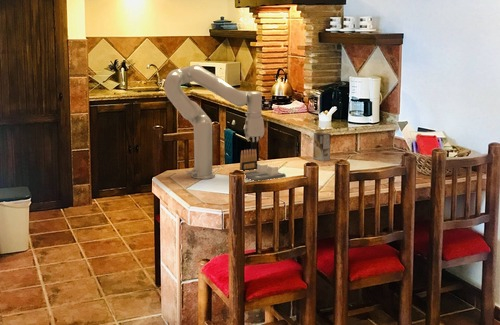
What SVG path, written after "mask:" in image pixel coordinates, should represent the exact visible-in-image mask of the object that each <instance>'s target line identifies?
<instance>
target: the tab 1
mask: <svg viewBox="0 0 500 325" xmlns="http://www.w3.org/2000/svg"><path fill="white" fill-rule="evenodd" d="M268 166H269V165H268V164H267V163H257V169H256V171H257V172H258V173H265V172H268Z"/></svg>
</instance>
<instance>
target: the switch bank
mask: <svg viewBox="0 0 500 325" xmlns="http://www.w3.org/2000/svg"><path fill="white" fill-rule="evenodd" d="M244 172H245V175H246V178H248V179H247V180H249V179H251V180H250V181H252V180H254V181H256V182H259V181H258V180H262V181H267V180H268V179H269V180H275V179H281V178H286V177H287V176H286V173H282V172H279V171H278V174H276V175H268V172H265V173H258V172H257V170H250V171H244ZM246 178H245V179H246ZM274 178H275V179H274ZM254 181H253V182H254Z"/></svg>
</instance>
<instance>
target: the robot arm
mask: <svg viewBox="0 0 500 325" xmlns="http://www.w3.org/2000/svg"><path fill="white" fill-rule="evenodd" d="M192 82H194V83H195V84H197V85H199V86H201V87H203V88H205V89H206V90H208V91H210V92H211V93H213V94H214V95H215V96H219V97H220V98H221V99H224V100H225V101H227V102H228V103H230V104H232V105H234V106H236V107H240V108H241V107H244V106H247V108H246V110H247V111H246V113H245V116H246V118H245V122H244V123H245V124H244V137H245V139H247V140H249V142H250V150H252V149H253V150H255V149H256V150H257V149H258V142H259V140H260V139H261V138H264V135H265V124H264V117H263V116H262V103H263V101H262V97H263V96H262V92H260V91H258V90H257V91H256V90H253V91H252V90H251V91H246V90H238V89H237V88H235V87H233V86H231V85H230V84H229V83H227V82H226V81H225V80H224V79H223V78H222V77H220V76H218V75H216V74H215V73H213V72H210V71H209V70H207V69H205V68H204V67H203V66H202V65H200V64H193V65H188V66H184V67H180V68H177V69H172V70H171V71H169V73H168V74H167V76H166V78H165V80H164V86H163V87H164V88H163V89H164V94H165V95H166V97H167V99H168V101H170V103H171V104H172V105H173V106H174V108H175V109H176V111H178V113H179V114H180V115H181V116H182V118H183V119H185V120H186V121H189V123H191V125H192V126H193V146H194V147H193V150H194V154H193V155H194V156H193V157H194V159H193V160H194V161H193V162H194V168H192V169H191V170H186V171H185V173H186V175H187V176H188V175H191V177H192V178H194V179H196V180H197V179H198V180H208V179H213V178H215V177H216V173H214V172H213V122H212V119H211V118H210V117H209V116H208V115H207V113H206V112H205V111H204V110H203V108H202V107H201V106H200V105H199V104H198V103H197V102H196V101H193V100H191V99H190V98H189V96H187V94H186V93H185V92H184V91H183V90H182V86H181V85H184V84H185V85H186V84H189V83H192Z"/></svg>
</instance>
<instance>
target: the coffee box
mask: <svg viewBox="0 0 500 325" xmlns="http://www.w3.org/2000/svg"><path fill="white" fill-rule="evenodd" d="M331 135H332V134H331V133H327V132H323V131H322V132H321V131H319V132H318V131H317V132H313V147H312V148H313V149H312V150H313V151H312V159H313V160H315V161H316V160H317V161H321V162H326V161H327V162H329V161H331V143H332V142H331V141H332V140H331V139H332V136H331Z"/></svg>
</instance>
